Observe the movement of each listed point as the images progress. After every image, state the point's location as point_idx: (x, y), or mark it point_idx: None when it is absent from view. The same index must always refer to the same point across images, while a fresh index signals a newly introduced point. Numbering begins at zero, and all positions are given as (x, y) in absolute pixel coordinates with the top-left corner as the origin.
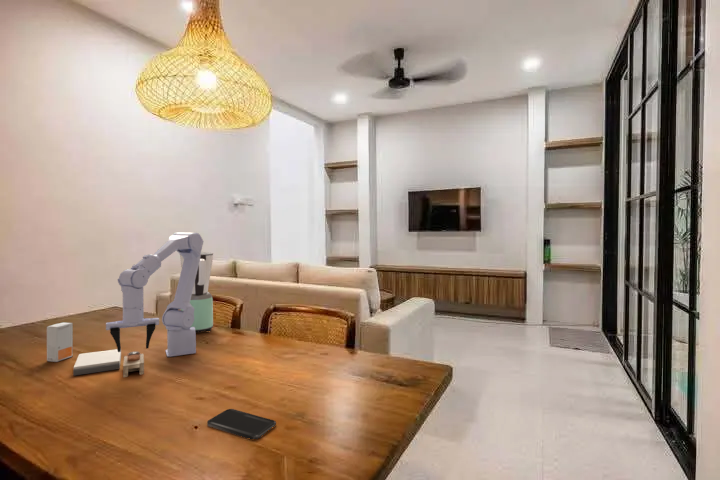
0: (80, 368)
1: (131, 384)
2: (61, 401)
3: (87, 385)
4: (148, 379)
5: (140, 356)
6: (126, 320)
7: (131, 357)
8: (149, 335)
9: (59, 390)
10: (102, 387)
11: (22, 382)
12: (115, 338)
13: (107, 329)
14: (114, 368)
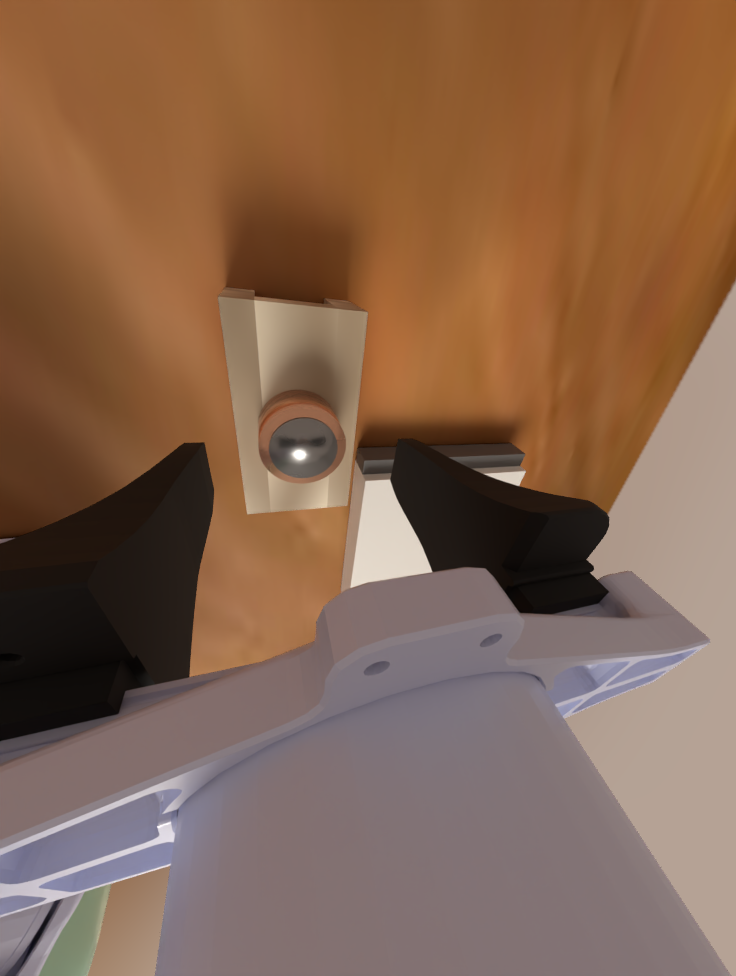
0: (500, 466)
1: (302, 40)
2: (695, 22)
3: (513, 273)
4: (165, 84)
5: (260, 470)
6: (572, 743)
7: (317, 403)
8: (116, 507)
9: (605, 280)
10: (473, 157)
11: (614, 453)
12: (502, 484)
13: (626, 577)
14: (379, 449)
